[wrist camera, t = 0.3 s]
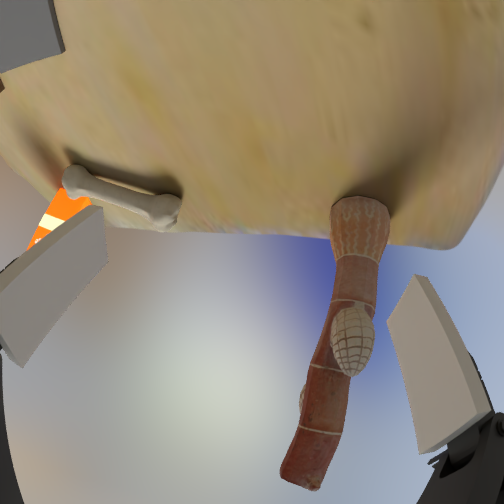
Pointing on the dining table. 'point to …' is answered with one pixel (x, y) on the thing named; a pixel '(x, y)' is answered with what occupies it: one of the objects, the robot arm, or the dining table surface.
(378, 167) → the dining table surface
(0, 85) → the puzzle board
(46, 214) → the orange juice
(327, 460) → the vase
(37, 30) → the rubber mat
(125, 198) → the dog toy
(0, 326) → the robot arm
